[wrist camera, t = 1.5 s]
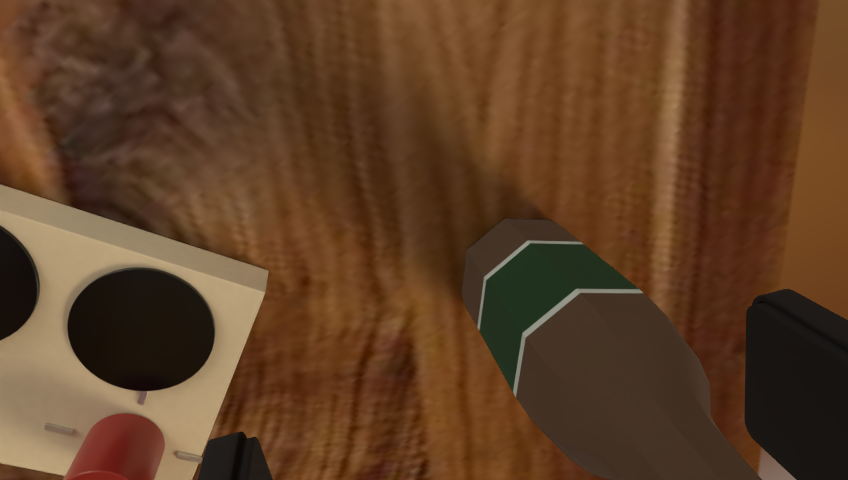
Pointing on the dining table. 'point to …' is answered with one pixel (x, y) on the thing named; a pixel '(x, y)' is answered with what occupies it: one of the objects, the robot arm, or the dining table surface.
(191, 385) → the hob
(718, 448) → the beer bottle
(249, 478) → the robot arm
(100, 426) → the hob knob
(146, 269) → the burners
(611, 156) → the dining table surface
